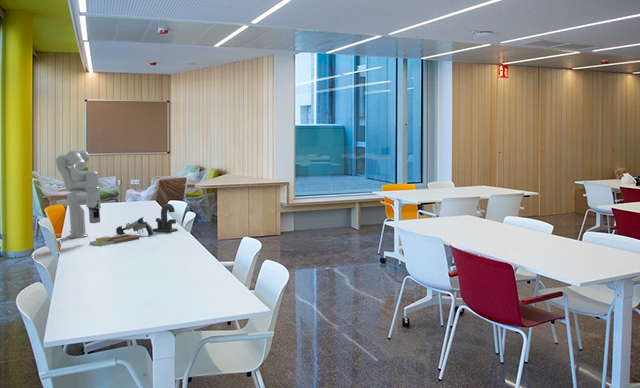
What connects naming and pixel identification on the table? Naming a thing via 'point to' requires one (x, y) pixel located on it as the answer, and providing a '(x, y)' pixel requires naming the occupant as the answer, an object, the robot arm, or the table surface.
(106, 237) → the olive yellow cube
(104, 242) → the tray
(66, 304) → the table surface
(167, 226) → the faucet
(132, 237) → the slot board
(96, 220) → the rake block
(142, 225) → the gun
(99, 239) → the tan wooden cube
